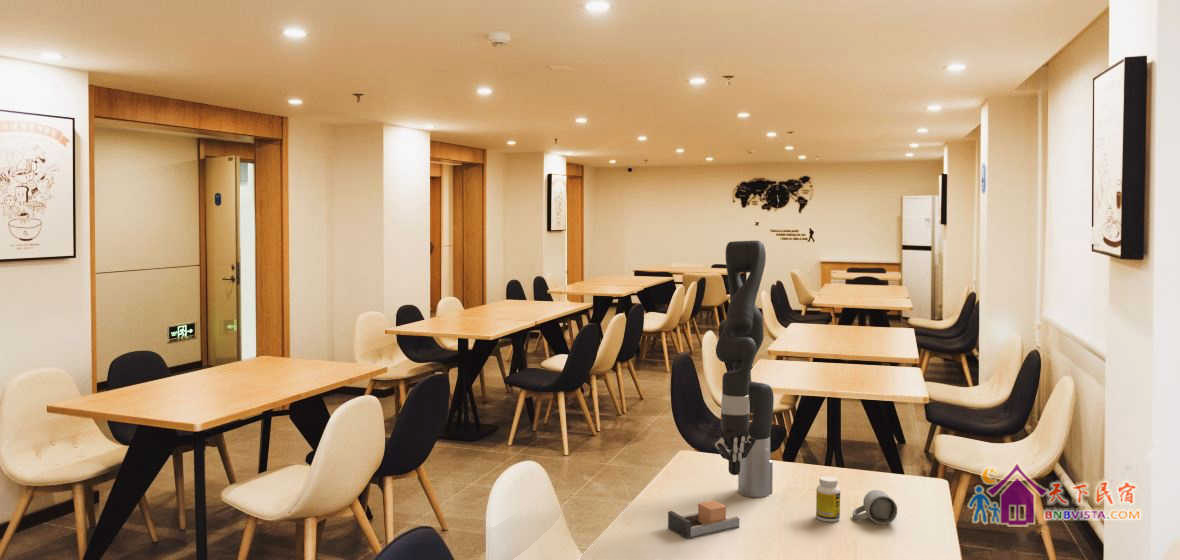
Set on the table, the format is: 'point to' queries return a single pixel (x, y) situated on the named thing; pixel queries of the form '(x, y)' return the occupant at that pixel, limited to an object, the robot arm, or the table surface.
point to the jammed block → (711, 512)
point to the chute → (698, 525)
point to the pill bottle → (828, 500)
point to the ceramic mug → (877, 508)
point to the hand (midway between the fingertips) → (734, 474)
